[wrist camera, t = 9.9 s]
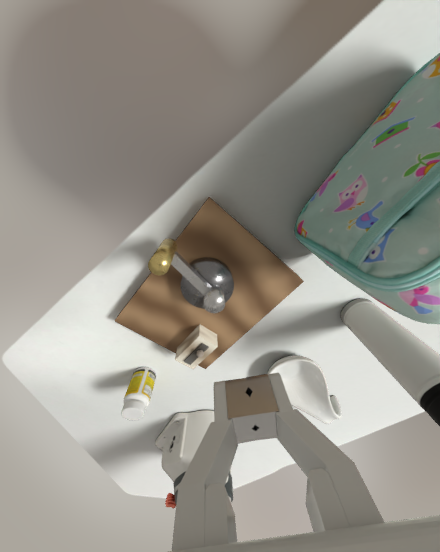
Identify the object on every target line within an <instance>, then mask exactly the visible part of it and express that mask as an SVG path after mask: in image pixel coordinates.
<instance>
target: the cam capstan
mask: <svg viewBox="0 0 440 552" xmlns="http://www.w3.org/2000/svg"><path fill="white" fill-rule="evenodd" d="M170 265H172V266H173V267H174V268H175V269H177V270H178V271H179V272H180V273H181V274H182V275H183V276H182V280H181V292H182V294H183V296H184V298H185V299H186V300H187V301H188V302H189V303H190V304H192V305H193V306H195V307H198V308H202V309H205V310H206V311H208V312H210V313H219V312H221V311H222V310H223V309H224V307H225V303H226V302H227V301H228V300H229V299H230V297H231V295H232V293H233V290H234V282H233V277H232V273H231V271H230V269H229V268H228V266H227V265H226V264H225V263H223V262H222V261H220V260H218V259H215V258H210V257H204V258H199V259H197V260H194V261H193V262H191V263H190V264H189V263H188V262H187V261H186V260H185V259H184V258H183V257H182V256H181V255H180V254H179V253H178V252H177V243H176V242H175V241H174V240H173V239H165V240H164V241H163V242H162V243H161V245H160V246H159V248H158V249H157V251H156V252H155V254H154V255H153V256H152V258H151V259H150V261H149V263H148V268H149V270H150V271H151V272H152V273H153V274H155V275H164V274H165V273H167V271H168V269H169V267H170Z"/></svg>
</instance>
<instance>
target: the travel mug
mask: <svg viewBox="0 0 440 552" xmlns="http://www.w3.org/2000/svg"><path fill="white" fill-rule="evenodd" d="M341 320H342V321H343V322H344V324H345V325H346V326H347V327H348V328H349V329H350V330H351V331H352V332H353V333H354V334H355V336H356V337H357V338H358V339H359V340H360V341H361V342H362V343H363V344H364V345H365V346H366V348H367V349H368V350H369V351H370V352H371V353H372V354H373V355H374V356H375V357H376V358H377V359H378V361H379V362H380V363H381V364H382V365H383V366H384V367H385V368H386V369H387V370H388V371H389V373H390V374H391V375H392V376H393V377H394V378H395V379H396V380H397V381H398V382H399V383H400V385H401V386H402V387H403V388H404V389H405V390H406V391H407V392H408V393H409V394H410V395H411V397H412V398H413V399H414V400H415V401H416V402H417V403H418V404H419V405H420V406H421V407H422V408H423V409H424V410H425V411H426V412H427V413H428V414H429V415H430V416H431V417H432V419H433V420H434V421H435V422H436V423H437V424H438V425H439V426H440V354H438V353H437V352H436V351H434V350H433V349H432V348H431V347H429V346H428V345H427V344H425V343H424V342H423V341H422V340H420V339H419V338H418V337H416V336H415V335H414V334H413V333H411V332H410V331H409V330H407V329H406V328H405V327H403V326H402V325H401V324H400V323H398V322H397V321H396V320H394V319H393V318H392V317H391V316H389V315H388V314H387V313H385V312H384V311H383V310H382V309H380V308H379V307H378V306H376V305H375V304H374V303H372V302H371V301H370V300H368V299H356V300H353V301H351V302H349V303H348V304H347V305H346V306H345V307H344V308H343V310H342V312H341Z"/></svg>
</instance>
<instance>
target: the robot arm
mask: <svg viewBox="0 0 440 552" xmlns="http://www.w3.org/2000/svg"><path fill="white" fill-rule="evenodd" d="M270 438H278V440H279V441H280V443H281V444H282V445H283V446H284V448H285V449H286V450H287V452H288V453H289V454H290V455H291V457H292V458H293V459H294V461H295V462H296V463H297V464H298V466H299V467H300V468H301V470H302V471H303V472H304V473H305V475H306V476H307V477H308V480H307V493H306V507H307V511H308V514H309V517H310V521H311V524H312V528H313V531H314V532H310V533H303V534H296V535H288V536H280V537H273V538H266V539H258V540H251V541H243V542H237V535H236V523H235V514H234V511H233V508H232V505H231V502H232V500H233V487H232V477H231V474H230V473H231V465H232V462H233V459H234V456H235V453H236V450H237V446H238V443H244V442H249V441H255V440H262V439H270ZM155 445H156V446H157V447H158V448H159V449H160V450H162V451H163V455H162V468H163V470H164V471H165V472H166V473H167V474H168V476H169V477H170V478H171V479H172V481H173V482H174V495H173V494H171V493H169V494H168V495H167V496H168V497H167V498H166V499H167V500H166V503H165V504H166V507H172V508H175V506H176V513H175V523H174V533H173V544H172V551H170V552H440V515H436V516H429V517H421V518H413V519H406V520H399V521H391V522H384V521H383V518H382V516H381V514H380V513H379V511H378V509H377V507H376V505H375V503H374V501H373V499H372V497H371V495H370V493H369V491H368V489H367V487H366V485H365V483H364V481H363V479H362V477H361V475H360V473H359V471H358V469H357V467H356V465H355V463H354V462H353V461H352V460H351V459H350V458H348V457H347V456H346V455H345V454H344V453H343V452H342V451H341V450H340V449H339V448H338V447H337V446H336V445H335V444H334V443H332V442H331V441H330V440H329V439H328V438H327V437H326V436H325V435H324V434H323V433H322V432H321V431H320V430H318V429H317V428H316V427H315V426H314V425H313V424H312V423H311V422H310V421H309V420H308V419H307V418H306V417H304V416H303V415H302V414H301V413H300V412H299V411H298V410H297V409H294V410H293V408H292V405H291V403H290V400H289V397H288V394H287V392H286V389H285V386H284V383H283V381H282V378H281V375H280V374H279V373H272V374H264V375H258V376H252V377H247V378H242V379H235V380H228V381H220V382H214V411H209V410H204V411H196V412H191V413H177V414H175V415H174V417H173V418H172V419H171V421H170V422H169V423H168V425H167V426H166V427H165V429H164V430H163V431H162V433H161V434H160V435H159V437H158V438H157V440H156V443H155Z"/></svg>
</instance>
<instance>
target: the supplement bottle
mask: <svg viewBox="0 0 440 552" xmlns="http://www.w3.org/2000/svg"><path fill="white" fill-rule="evenodd" d="M155 378H156V373H155V371H154V370H152V369H151V368H148V367H140V368H138V369H136V370H135V371H134V373H133V376H132V379H131V381H130V384H129V387H128V389H127V392H126V395H125V397H124V406H123V409H122V412H121V415H122V417H123V418H125V419H127V420H131V421H136V420H140V419H141V418H143V416H144V413H145V410H146V407H147V406H148V404H149V402H150V398H151V394H152V390H153V386H154V382H155Z"/></svg>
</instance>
